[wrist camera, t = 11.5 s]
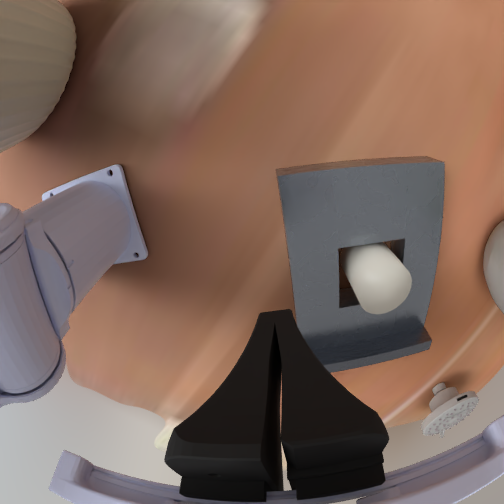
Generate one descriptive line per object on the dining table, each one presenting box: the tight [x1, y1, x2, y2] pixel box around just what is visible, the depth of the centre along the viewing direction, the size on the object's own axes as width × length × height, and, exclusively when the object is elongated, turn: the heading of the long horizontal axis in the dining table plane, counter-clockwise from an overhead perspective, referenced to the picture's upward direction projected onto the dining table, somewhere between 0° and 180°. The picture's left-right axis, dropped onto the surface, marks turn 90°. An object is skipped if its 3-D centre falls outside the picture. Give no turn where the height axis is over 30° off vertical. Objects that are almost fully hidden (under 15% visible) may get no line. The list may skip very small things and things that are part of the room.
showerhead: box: [421, 383, 479, 438], centre depth 27 cm, size 9×7×10 cm
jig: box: [276, 156, 444, 373], centre depth 19 cm, size 12×16×4 cm
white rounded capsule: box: [340, 242, 412, 314], centre depth 19 cm, size 4×4×5 cm
